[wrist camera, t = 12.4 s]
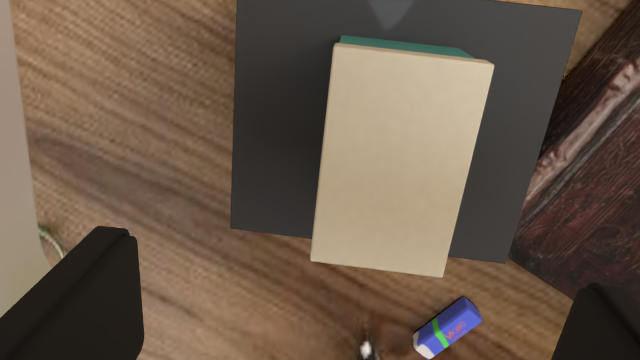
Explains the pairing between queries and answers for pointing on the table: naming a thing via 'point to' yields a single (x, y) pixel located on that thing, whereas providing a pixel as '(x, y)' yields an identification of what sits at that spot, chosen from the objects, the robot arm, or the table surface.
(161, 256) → the table surface
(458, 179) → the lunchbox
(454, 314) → the eraser
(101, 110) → the table surface
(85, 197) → the table surface
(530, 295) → the table surface
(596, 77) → the hardback book
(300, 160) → the shelf rack
